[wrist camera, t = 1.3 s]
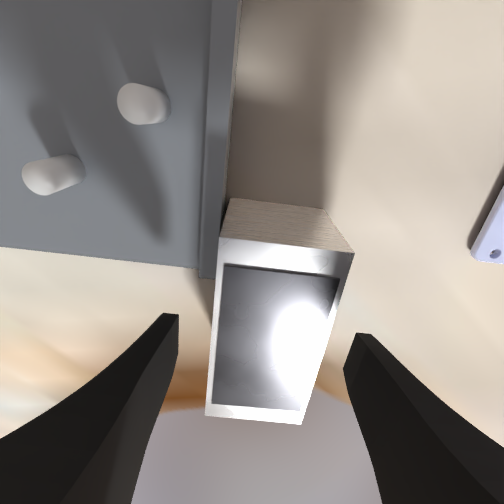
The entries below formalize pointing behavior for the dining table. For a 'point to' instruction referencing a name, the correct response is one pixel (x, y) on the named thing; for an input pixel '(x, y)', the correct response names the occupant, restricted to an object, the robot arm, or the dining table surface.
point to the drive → (272, 308)
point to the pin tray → (117, 127)
